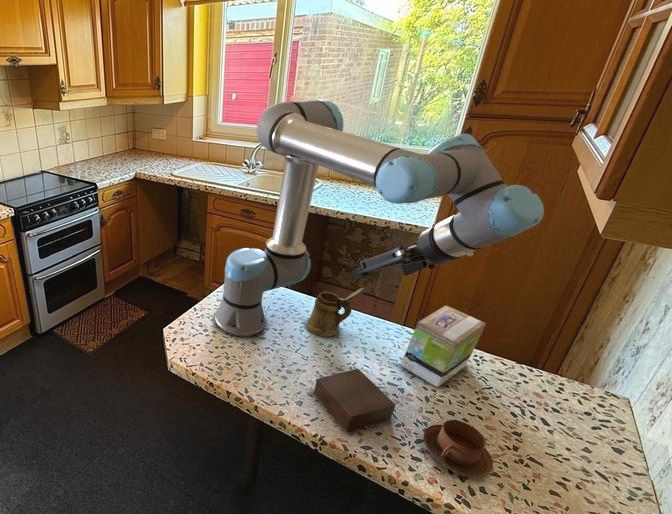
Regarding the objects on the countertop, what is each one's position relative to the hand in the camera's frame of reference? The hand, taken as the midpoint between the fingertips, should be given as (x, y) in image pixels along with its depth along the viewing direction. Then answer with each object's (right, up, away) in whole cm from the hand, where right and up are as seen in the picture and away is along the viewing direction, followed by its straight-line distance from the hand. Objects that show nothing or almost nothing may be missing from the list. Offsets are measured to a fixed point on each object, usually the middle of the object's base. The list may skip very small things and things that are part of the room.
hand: (379, 272), depth 97 cm
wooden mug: (-2, -19, +24) cm, 30 cm away
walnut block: (-8, -32, -2) cm, 33 cm away
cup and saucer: (+8, -38, -13) cm, 41 cm away
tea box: (+20, -26, +10) cm, 34 cm away
